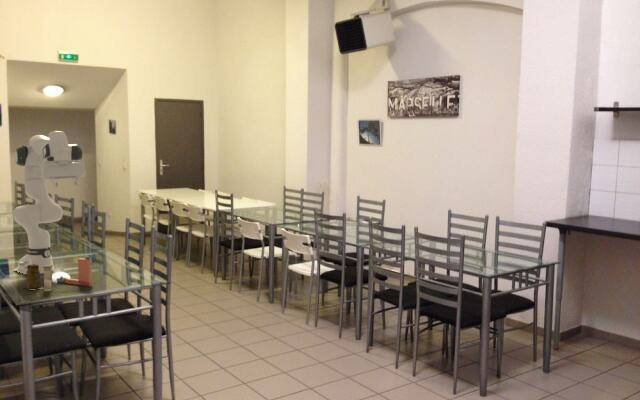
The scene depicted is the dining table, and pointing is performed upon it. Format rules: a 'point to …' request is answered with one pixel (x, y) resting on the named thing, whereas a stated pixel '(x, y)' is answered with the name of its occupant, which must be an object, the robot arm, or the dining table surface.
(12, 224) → the dining table surface
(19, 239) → the dining table surface
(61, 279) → the pivot base
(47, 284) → the latch post
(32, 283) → the condiment
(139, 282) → the dining table surface
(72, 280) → the red l-shaped bracket
